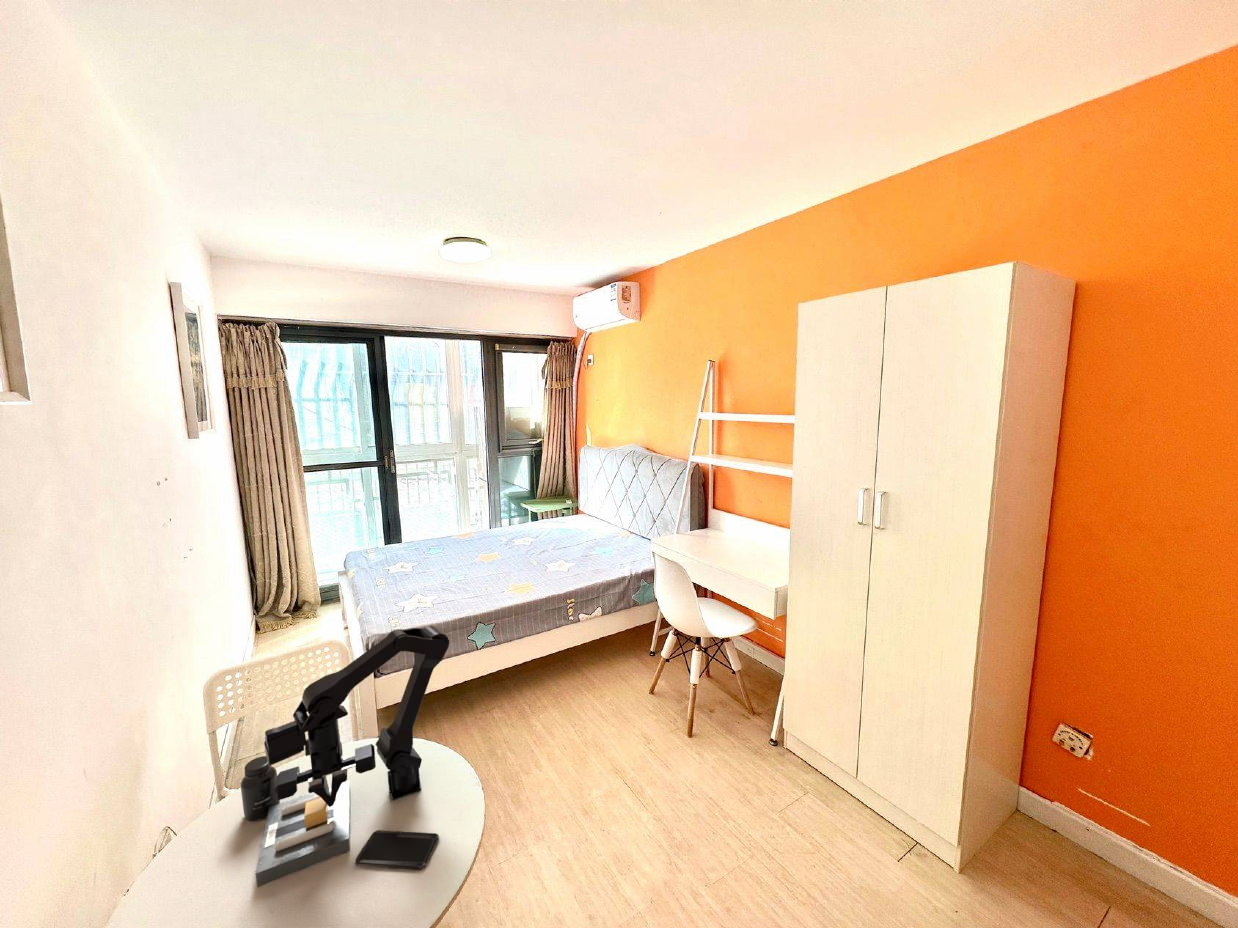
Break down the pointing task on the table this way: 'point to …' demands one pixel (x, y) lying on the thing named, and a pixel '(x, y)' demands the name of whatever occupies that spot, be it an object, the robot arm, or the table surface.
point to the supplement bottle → (258, 789)
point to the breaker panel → (308, 851)
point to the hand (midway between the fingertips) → (331, 804)
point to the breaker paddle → (315, 812)
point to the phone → (397, 850)
